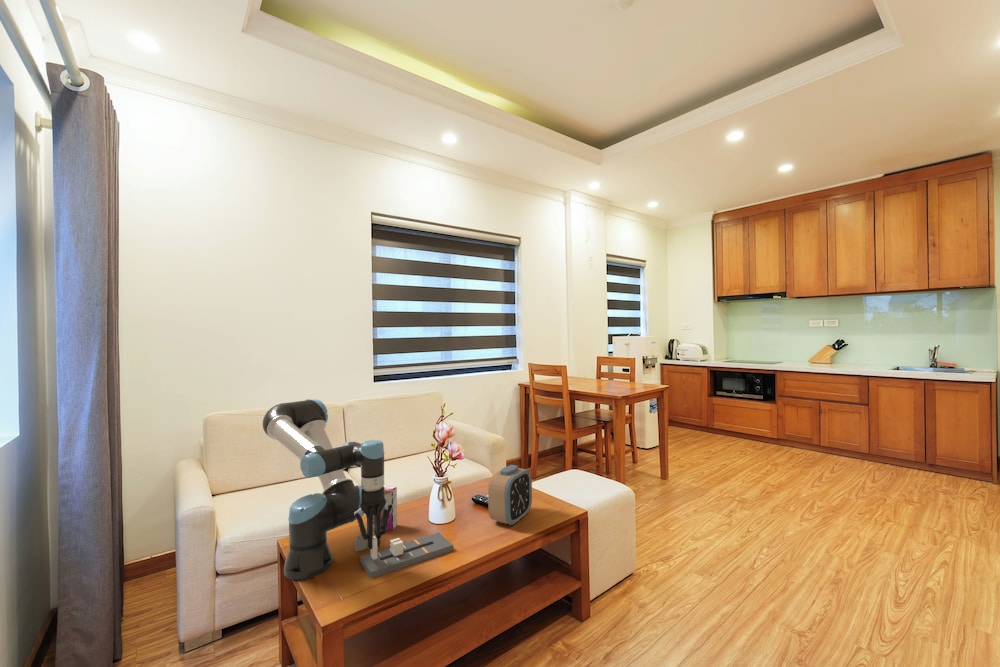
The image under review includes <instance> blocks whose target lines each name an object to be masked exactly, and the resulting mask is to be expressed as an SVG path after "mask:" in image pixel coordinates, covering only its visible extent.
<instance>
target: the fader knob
mask: <svg viewBox="0 0 1000 667" xmlns="http://www.w3.org/2000/svg"><path fill="white" fill-rule="evenodd" d="M403 543H404V541H403V540H401V538H400V537H397V538H394V539H390V540H389V546H390V552H391V554H392V555H393V556H394V557H397V556H400V555H403Z"/></svg>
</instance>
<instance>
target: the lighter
mask: <svg viewBox="0 0 1000 667" xmlns="http://www.w3.org/2000/svg"><path fill="white" fill-rule="evenodd" d="M374 529H375V526H374V525H373V532H375V530H374ZM367 549H368V540H367V539H366V540H364V539H363V537H362V535H361V533H360V534H358V535H357V536H356V537H354V552H359V551H364V550H367Z"/></svg>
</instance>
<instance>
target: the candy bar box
mask: <svg viewBox="0 0 1000 667" xmlns="http://www.w3.org/2000/svg"><path fill="white" fill-rule="evenodd" d="M384 490H385V500H386V502H387V503H390V504H391V505H392V506H393V507H392V509H391V511H390V513H389V518H388V523H387V528H386V531H394V529H395V528H396V527H397V526H398V502H397V501H398V497H397V495H398V493H397V492H398V491H397V490H398V488H397V486H387V485H384ZM383 512H384V508H383V509H382V511H381V513H380V514H381V517H380V527H381V522H382V517H383ZM373 525H374V516H373ZM374 531H375V529H374Z"/></svg>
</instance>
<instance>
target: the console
mask: <svg viewBox="0 0 1000 667" xmlns="http://www.w3.org/2000/svg"><path fill="white" fill-rule="evenodd" d="M453 551H454V544H452V542H451V541H449V540H448V539H447V538H446V537H444V536H443V535H442V534H441V533H440V532H436V533H432V534H429V535H426V536H422V537H419V538H417V539H412V540H409V541H406V542H403V555H400V556H397V557H394V556H393V555H392V554H391V552H390V547H387V548H383V549H380V550H377V557H378V558H376V559H372V557H371V552H370V553H367V554H364V555H361V556H359V563H360V565H361V566H362V567H363V569H364V570H365V572H366V573H367V575H368V577H369V578H370V579H374V578H377V577H379V576H382V575H386V574H388V573H390V572H391V573H392V572H394V571H397V570H401V569H403V568H406V567H409V566H411V565H414V564H415V565H416V564H418V563H421V562H424V561H426V560H430V559H431V558H436V557H438V556H440V555H444V554H447V553H450V552H453Z"/></svg>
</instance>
